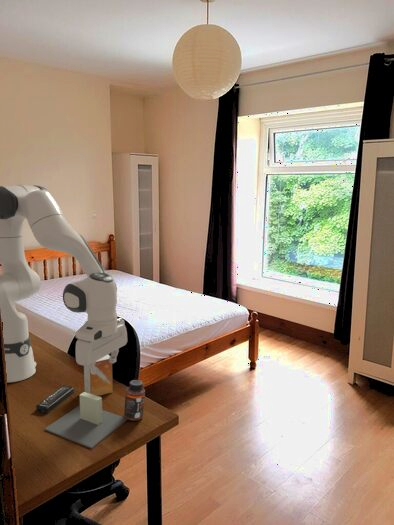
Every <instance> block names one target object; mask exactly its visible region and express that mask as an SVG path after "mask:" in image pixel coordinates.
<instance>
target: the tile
mask: <svg viewBox="0 0 394 525" xmlns="http://www.w3.org/2000/svg"><path fill="white" fill-rule="evenodd" d="M79 405H80V417H81V419H83V420H86V421H89V422H92V423H94V424H97V425H99V424H100V423H101V422H103V416H102V410H103V398H102V396H95V395H92V394H89V393H86V392H85V391H82V393H80V394H79Z"/></svg>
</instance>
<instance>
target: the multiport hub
mask: <svg viewBox="0 0 394 525" xmlns="http://www.w3.org/2000/svg"><path fill="white" fill-rule="evenodd" d="M74 393H75V388H74V386H69V385H66V384H65V385H62V386H60V387H59V388H58V389H56V390H55V391H54V392H52V393H51V394H50V395H48V396H47V397H46V398H44V399H43V400H42V401H40V402H39V403H37V404H36V406H35V412H36V413H40V414H45V415H49V413H51V411H53V410H54V409H56V408H57V407H58V406H60V404H62V403H63V402H64V401H66V400H67V399H68V398H69V397H71V396H72V395H73V394H74Z"/></svg>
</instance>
